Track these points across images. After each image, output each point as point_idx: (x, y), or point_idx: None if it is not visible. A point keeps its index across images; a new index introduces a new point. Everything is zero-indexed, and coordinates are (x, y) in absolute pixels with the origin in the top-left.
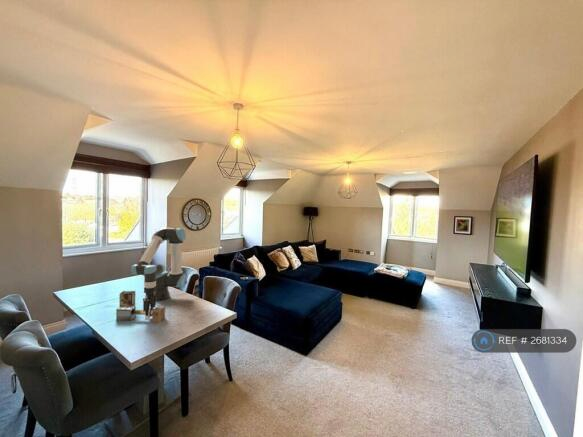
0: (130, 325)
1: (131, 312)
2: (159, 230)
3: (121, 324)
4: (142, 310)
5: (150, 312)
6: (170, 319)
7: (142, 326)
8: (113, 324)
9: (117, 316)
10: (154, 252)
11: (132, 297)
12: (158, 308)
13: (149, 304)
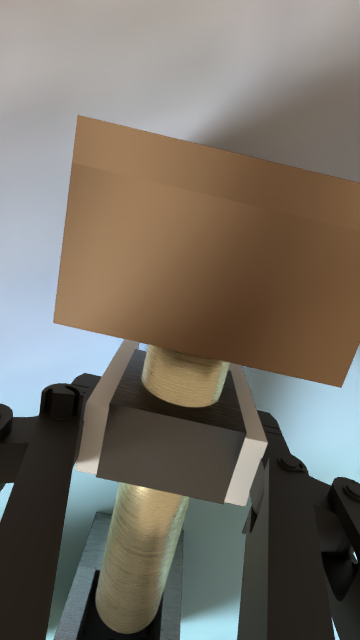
0: None
1: (86, 610)
2: None
3: (241, 576)
4: (154, 543)
5: (222, 403)
6: (213, 62)
7: (347, 389)
8: (226, 627)
9: None
10: None
11: None
12: (247, 271)
13: (293, 599)
